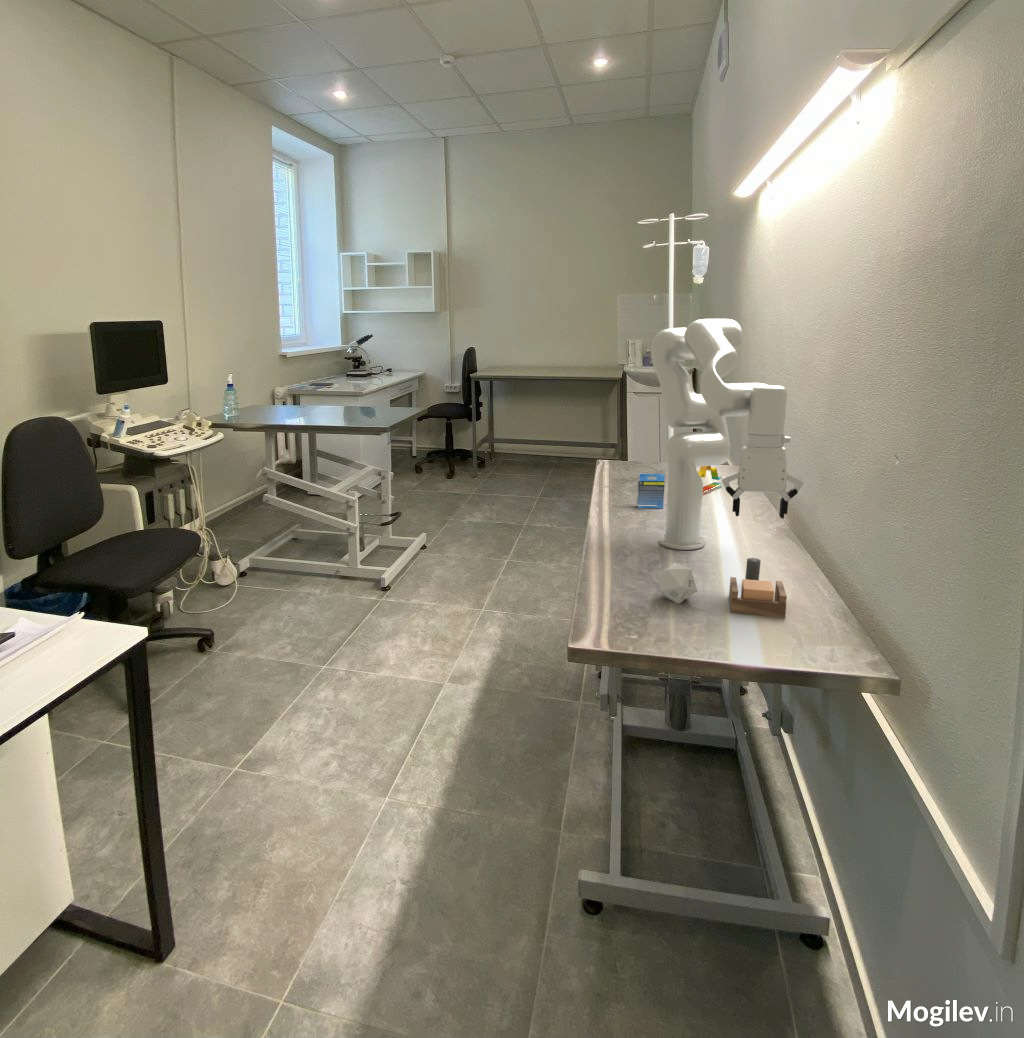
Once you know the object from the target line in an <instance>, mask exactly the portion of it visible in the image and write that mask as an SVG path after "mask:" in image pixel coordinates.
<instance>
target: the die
mask: <svg viewBox="0 0 1024 1038" xmlns="http://www.w3.org/2000/svg"><path fill="white" fill-rule="evenodd" d="M656 579H657V582H658V583H657V584H658V588H659V592H660V594H661V595H662V597H663V598H665V599H667V600H670V601H672V602H673V603H675V604H677V605H679V604H681V603H682V602H684V601H685V600H686V599H688V598H689V597H690V596H693V594H694V595H695V593H697V592H698V588H697V584H696V581H695V578H694V574H693V571H692V569H691V568H689V567H686V566H684V565H682V564H680V563H677V562H673V563H672V564H670V565H669V566H668V567H666V568H664V570H662V571H661V572H659V573H658V574H657V575H656Z"/></svg>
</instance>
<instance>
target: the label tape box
mask: <svg viewBox="0 0 1024 1038" xmlns="http://www.w3.org/2000/svg"><path fill="white" fill-rule="evenodd" d="M665 475H666V474H665V473H639V474H638V482H637V485H636V486H637V487H636V488H637V490H636V492H637V493H636V507H637V509H664V502H665V501H664V500H665V488H666V487H665V485H666V480H665V478H666V476H665ZM651 477H652V478H651ZM637 504H638V505H657V506H638V505H637Z"/></svg>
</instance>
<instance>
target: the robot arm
mask: <svg viewBox="0 0 1024 1038" xmlns="http://www.w3.org/2000/svg"><path fill="white" fill-rule="evenodd" d="M742 342H743V331H742V327H741V325H740V323H738V322H737V321H736V320H733V319H730V318H703V319H702V318H701V319H697V320H694V321H692V322H691V323H689V324H688V325H687V327H672V328H665V329H662V330H661V331H659V332H657V333H656V334H655V335H654V337H653V339H652V343H651V349H650V352H651V353H650V354H651V355H650V357H651V361H652V365H653V368H654V371H655V373H656V376H657V379H658V381H659V385H660V390H661V391H660V392H661V396H662V402H663V403H662V404H663V408H664V414H665V418H666V422H667V425H668V426H669V427H670V428H671V429H675V430H691V429H692V430H693V429H702V431H691V432H690V431H688V432H686V431H685V432H679V433H676V434H674V435H672V436H670V437H669V438H668V439H667V441H666V443H665V444H666V445H665V457H666V465H667V489H666V491H667V492H666V493H667V494H666V508H665V509H666V511H665V515H666V516H665V529H664V530H665V531H664V533H665V534H663V535H661V536H659V539H658V540H659V541H658V542H659V544H660V545H661V546H663V547H666V548H669V549H673V550H682V551H684V550H686V551H687V550H688V551H689V550H690V551H691V550H699V549H702V548H703V547H705V545H706V540H705V539H704V537H701V536H700V535H701V525H702V524H701V522H702V506H703V495H702V494H703V487H704V482H703V479H702V477H700V475H699V474H698V472H699V471H698V470H697V468H699V467H701V466H711V467H712V466H713V467H714V466H720V465H723V464H725V463H726V462H727V461H728V460H729V457H730V456H731V455H730V454H731V441H730V434H729V429H728V423H727V418H730V417H731V418H732V417H748V423H747V424H748V425H747V438H746V446H743V447H742V449H741V454H740V459H739V466H738V471H737V472H734V473H732V474H728V475H727V476H725V477H723V478H721V483H722V484H723V485H722V486H723V487H724V489H725V490H726V492H727V493H728V494H729V495H730V497H731V498H732V510H731V511H732V512H733V513H734V512H735V513H734V514H735V517H740V507H741V505H740V504H741V498H740V497H741V496H742V494H744V493H745V492H746V493H747V492H748V493H749V492H750V493H766V494H767V493H770V494H771V493H772V494H773V493H774V494H775V493H776V494H777V493H778V494H779V495H780V496H781V499H780V500H779V502H780V503H779V513H778V516H779V518H781V519H785V515H788V508H789V507H788V506H789V501H790V500H791V499H792V498H794V497H795V496H796V495H797V494H798V493H799V492H800V490H801V488H802V487H803V485H804V482H803V481H802V480H801V479H799V478H797V477H796V476H793V475H792V474H790V473H788V471H787V469H788V467H787V466H788V465H787V464H788V462H787V449H786V447H784V445H786V444H790V443H791V437H790V436H786V435H785V434H784V433H785V422H786V410H787V398H788V397H787V396H788V391H787V389H786V387H785V386H782V385H778V384H777V385H775V384H774V385H773V384H772V385H771V384H770V385H769V384H766V383H763V382H744V383H743V382H737V383H734V382H733V383H725V382H724V381H723V379H722V378H724V377H725V376H727V375H729V374H730V373H732V372H733V370H734V369H735V367H736V366H737V363H738V360H739V359H738V358H739V357H738V353H737V350H738V349H739V348H740V347H741V345H742ZM679 360H680V361H683V360H684V361H686V360H687V361H690V360H693V361H694V360H696V361H697V362H698V364H699V365H700V367H701V368H702V371H701V374H700V378H699V388H700V389H699V390H700V393H696V392H695V390H694V387H693V380H692V378H691V375H690V373H689V371H687V368H685V367H684V366H683V365H682V364H681V363H680V362H679ZM735 480H737V488H736V489H733V487H732V486H731V485H730V483H731V482H733V481H735ZM787 481H788V482H790V483H791V484H793V487H792V488H791V489H790V490H788V491H786V488H787Z"/></svg>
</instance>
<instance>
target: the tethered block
mask: <svg viewBox="0 0 1024 1038" xmlns="http://www.w3.org/2000/svg"><path fill="white" fill-rule="evenodd" d="M745 567H746V568H745V576H744V577H745V578H743V579H742V581H741V592H740V593H741V594H740V598H745V599H757V600H768V601H774V597H775V589H774V586H773V582H772V580H771V581H770V580H760V572H761V559H759V558H756V557H749V558H747V559H746V566H745Z"/></svg>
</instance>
